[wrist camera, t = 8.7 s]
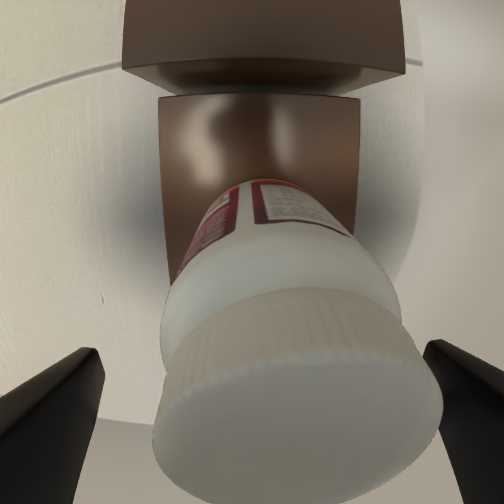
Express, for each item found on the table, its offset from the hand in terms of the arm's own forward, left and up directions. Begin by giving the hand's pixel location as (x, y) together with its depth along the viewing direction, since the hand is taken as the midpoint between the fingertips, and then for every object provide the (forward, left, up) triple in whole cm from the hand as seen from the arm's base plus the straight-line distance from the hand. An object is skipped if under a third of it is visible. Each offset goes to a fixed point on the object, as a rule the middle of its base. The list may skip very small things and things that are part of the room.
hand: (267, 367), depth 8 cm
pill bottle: (0, -1, -8) cm, 8 cm away
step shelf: (+16, -7, -13) cm, 22 cm away
